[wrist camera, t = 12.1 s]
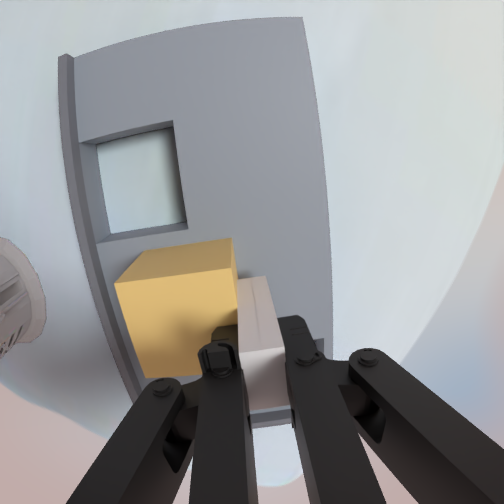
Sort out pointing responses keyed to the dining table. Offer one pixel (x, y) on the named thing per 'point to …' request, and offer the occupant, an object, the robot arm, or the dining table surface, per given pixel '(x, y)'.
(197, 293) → the ochre block
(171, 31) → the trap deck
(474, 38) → the dining table surface
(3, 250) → the french press
